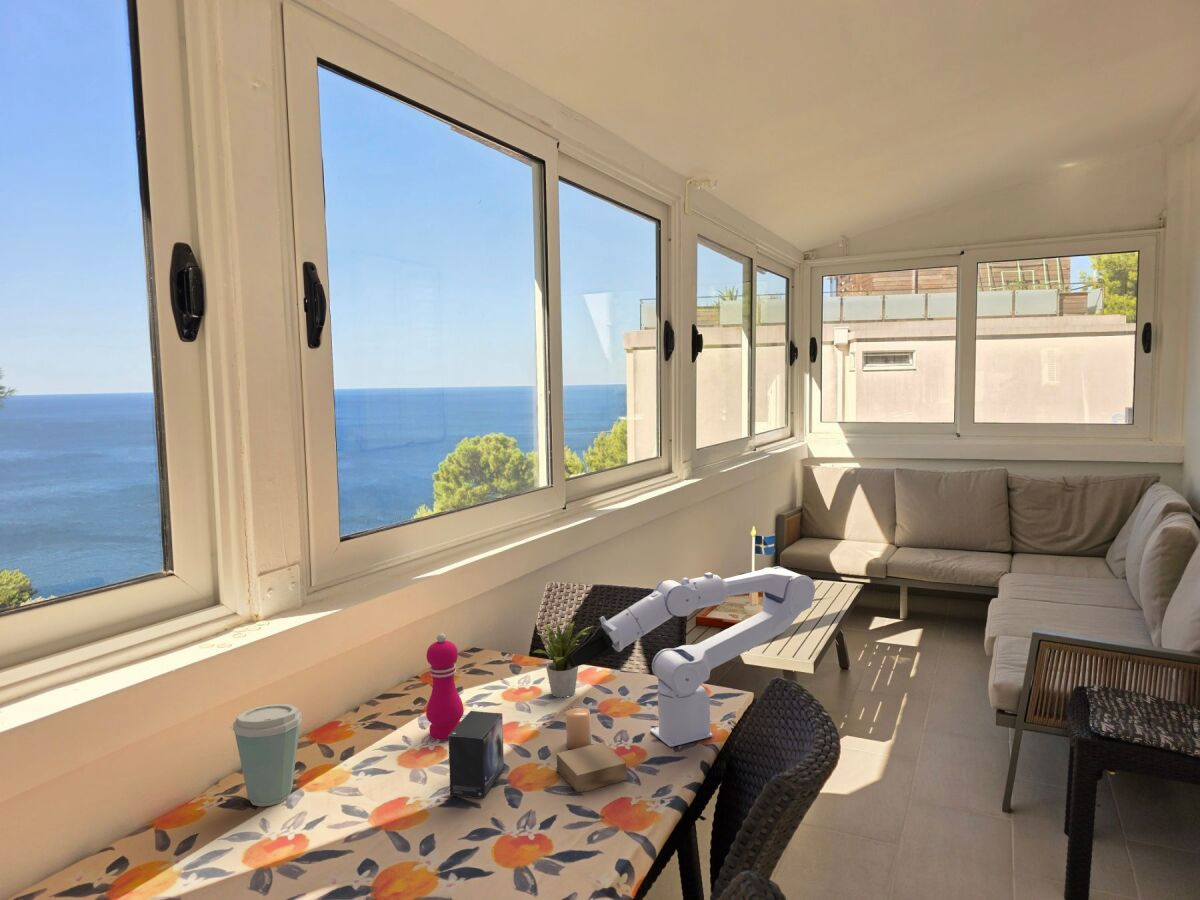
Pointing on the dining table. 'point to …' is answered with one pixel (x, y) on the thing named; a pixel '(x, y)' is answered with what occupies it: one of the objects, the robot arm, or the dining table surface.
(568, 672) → the house plant
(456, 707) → the pepper mill
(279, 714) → the disposable coffee cup
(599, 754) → the tan square base block
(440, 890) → the dining table surface
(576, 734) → the peach domed cylinder
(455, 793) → the small box
